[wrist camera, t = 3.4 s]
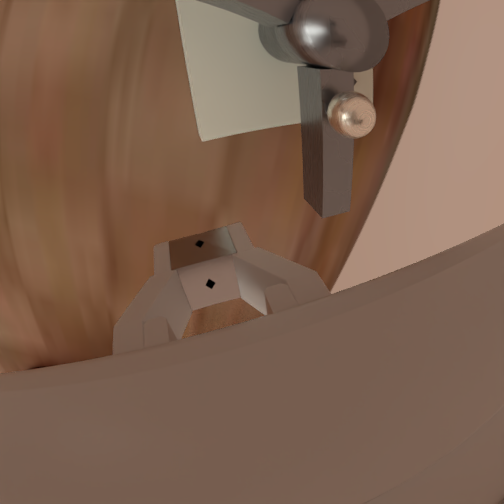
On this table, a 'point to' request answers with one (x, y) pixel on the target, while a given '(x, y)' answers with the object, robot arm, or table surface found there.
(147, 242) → the table surface
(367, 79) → the stand plate
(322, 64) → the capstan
